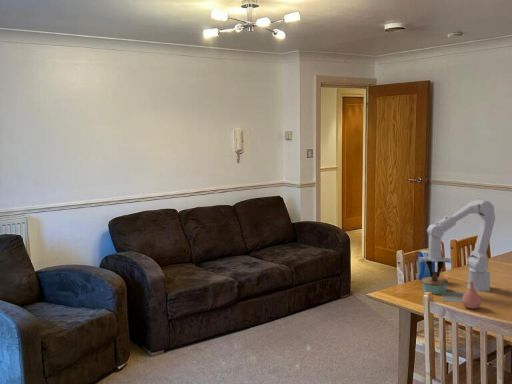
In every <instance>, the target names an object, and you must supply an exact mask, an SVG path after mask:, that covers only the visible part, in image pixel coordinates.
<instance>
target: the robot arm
mask: <svg viewBox="0 0 512 384" xmlns="http://www.w3.org/2000/svg"><path fill="white" fill-rule="evenodd" d="M470 214H477V215H479V217H480V218H481V224H480V227H479V229H478V234H477V237H476V242H475V246H474V250H472V251H471V252H470V254H469V256H468V258H466V265H467V266H468V284H466V287H467V290H468V289H469V288H470V282H474V289H475V291H476V292H477V291H478V292H490V291H491V290H490V289H491V288H490V287H491V274H490V271H488V268H489V264H488V262H489V257H488V255H487V251H488V247H489V245H490V239H491V236H492V233H493V232H492V231H493V229H494V226H495V225H494V224H495V222H496V215H495V206H494V205H493V204H492V202H491V201H489V200H485V199H484V200H483V199H481V198H474V199H472V200H471V201H469V202H468V203H467V204H466V205H465V206H463V207H462V208H460V209H458V211H456V212H455V213H453V214H452V215H450V214H449V215H444V216H443V218H442V219H440V220H438V221H436V222H434V223H432V224H430V225H428V227H427V229H426V233H427V234H428V250H429V257H419V262H426V263H427V266H428V268H429V271H430V277H432V262H435V263H437V271H436V272H438V274H437V277H438V278H440V274H441V271H442V269H443V267H444V265H445V264H444V263H448V264H452V258H450V257H442V237H443V236H444V233H445V232H448V231H449V230H451V229H452V228H453V227H454V226H455V227H456V224H457V222H458V221H460V220H462V219H463V218H465V217H467V216H469V215H470Z"/></svg>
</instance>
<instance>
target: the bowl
mask: <svg viewBox="0 0 512 384" xmlns="http://www.w3.org/2000/svg"><path fill="white" fill-rule="evenodd" d="M421 283H422V282H421ZM447 285H448V284H446V285H442V286H433V285H427V284H424V283H422V284H421V286H422V289H421V290H422V292H424V293H426V292H432V293H433V294H432V295H442V294H443V293H445V292H448V291H447V290H448V288H447V287H448V286H447Z"/></svg>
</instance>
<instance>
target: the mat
mask: <svg viewBox="0 0 512 384" xmlns="http://www.w3.org/2000/svg"><path fill="white" fill-rule="evenodd" d="M465 293H466V292H461V291H447V292H445V293H443V294H441V297H442V300H443V302H449V303H463V302H462V298H463V295H464V294H465Z"/></svg>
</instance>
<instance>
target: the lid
mask: <svg viewBox="0 0 512 384" xmlns="http://www.w3.org/2000/svg"><path fill="white" fill-rule="evenodd" d="M437 274H438V272H437V271H435V272H432V277H425V278H422V282H421V283H424V284H427V285H433V286H442V285H446V284H447V285H448V282H449V281H448V280H447V279H446V278H443V277H437Z"/></svg>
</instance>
